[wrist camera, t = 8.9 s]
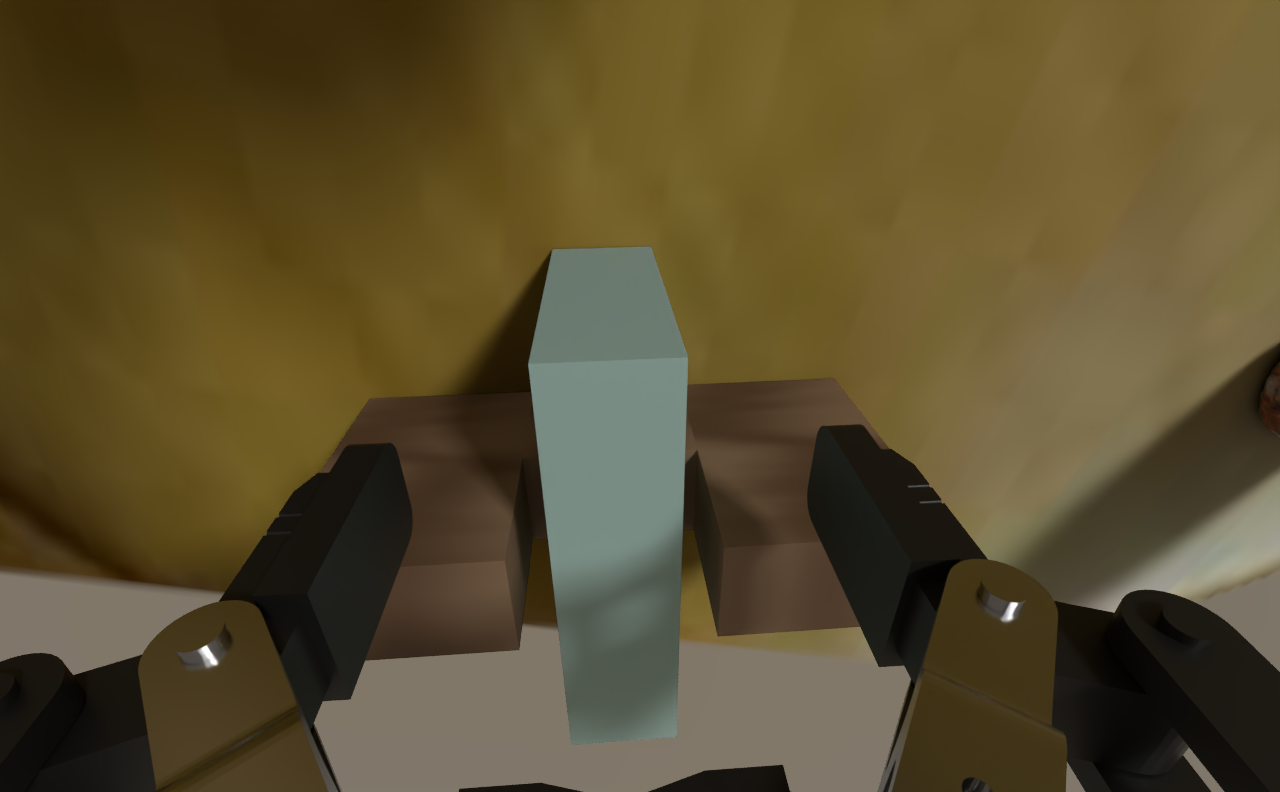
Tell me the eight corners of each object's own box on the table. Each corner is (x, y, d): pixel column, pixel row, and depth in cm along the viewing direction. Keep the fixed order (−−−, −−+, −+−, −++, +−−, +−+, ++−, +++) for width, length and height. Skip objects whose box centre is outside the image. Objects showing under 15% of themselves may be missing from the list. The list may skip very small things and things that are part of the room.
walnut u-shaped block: (388, 471, 21) (291, 665, 15) (369, 398, 20) (251, 575, 13) (822, 449, 22) (927, 621, 15) (834, 378, 21) (956, 533, 14)
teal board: (552, 249, 18) (527, 364, 11) (651, 246, 18) (688, 357, 11) (576, 546, 24) (571, 744, 17) (651, 542, 24) (676, 736, 17)
